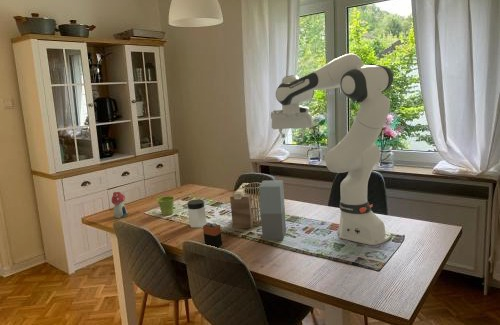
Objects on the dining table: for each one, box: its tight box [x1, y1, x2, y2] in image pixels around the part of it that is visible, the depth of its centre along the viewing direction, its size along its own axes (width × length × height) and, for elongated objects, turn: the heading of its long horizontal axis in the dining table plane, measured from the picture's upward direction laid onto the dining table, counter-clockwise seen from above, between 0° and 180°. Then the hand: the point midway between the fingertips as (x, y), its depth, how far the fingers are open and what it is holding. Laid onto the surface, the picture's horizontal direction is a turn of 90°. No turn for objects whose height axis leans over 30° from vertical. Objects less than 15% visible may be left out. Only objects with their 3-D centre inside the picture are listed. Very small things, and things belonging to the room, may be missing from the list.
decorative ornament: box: [111, 191, 129, 219], centre depth 213 cm, size 9×6×15 cm
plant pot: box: [156, 195, 176, 216], centre depth 212 cm, size 9×9×9 cm
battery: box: [202, 222, 223, 248], centre depth 166 cm, size 4×7×10 cm, turn 55°
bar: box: [233, 182, 250, 199], centre depth 186 cm, size 18×3×2 cm, turn 168°
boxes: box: [229, 179, 287, 241], centre depth 179 cm, size 23×26×24 cm
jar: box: [186, 198, 208, 229], centre depth 192 cm, size 9×8×12 cm
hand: (292, 137), depth 193 cm, fingers open, 8 cm apart
